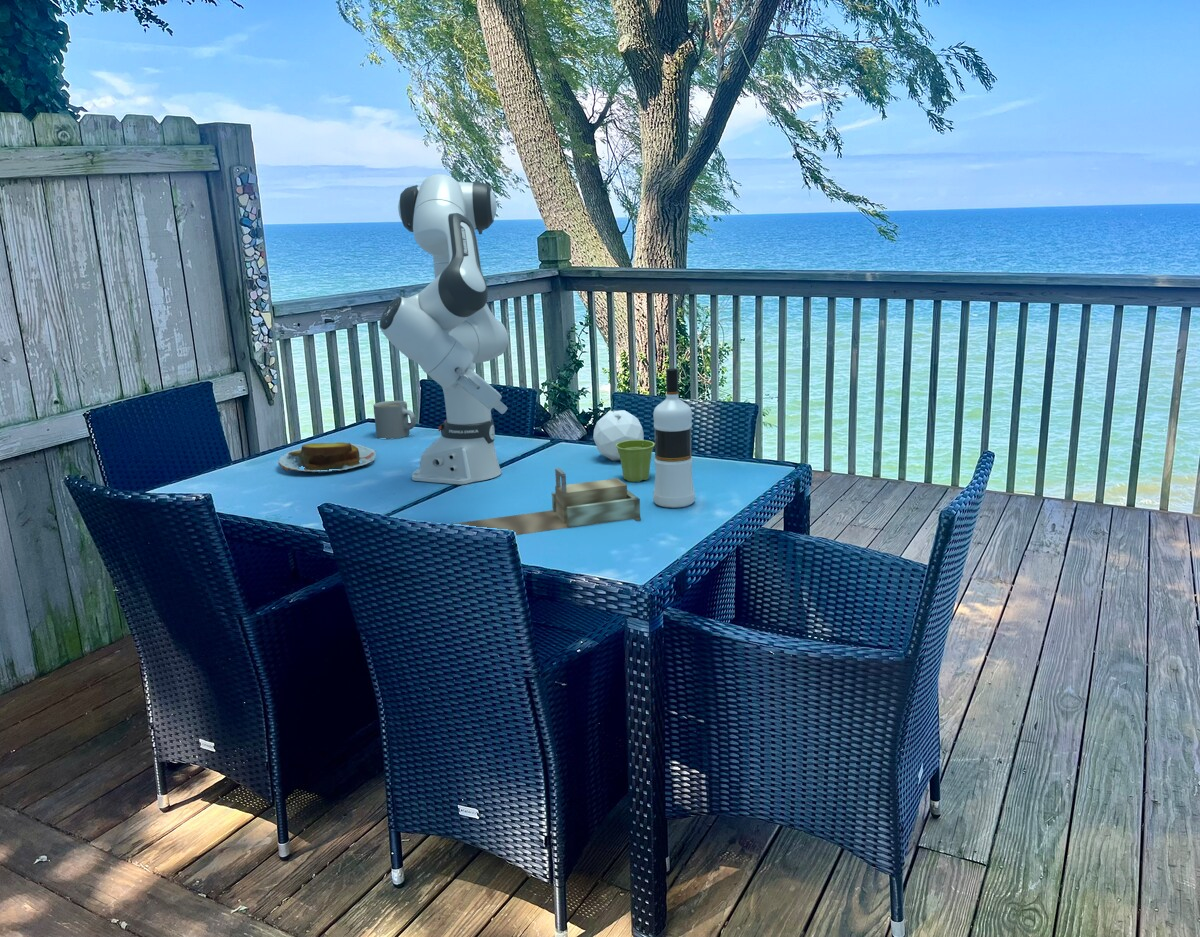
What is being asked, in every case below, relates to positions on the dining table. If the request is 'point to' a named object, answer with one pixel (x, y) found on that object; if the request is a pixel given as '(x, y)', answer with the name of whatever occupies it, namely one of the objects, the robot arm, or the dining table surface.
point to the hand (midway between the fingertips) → (503, 410)
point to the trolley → (585, 493)
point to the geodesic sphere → (616, 432)
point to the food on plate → (327, 457)
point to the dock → (575, 516)
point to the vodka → (673, 448)
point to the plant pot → (635, 459)
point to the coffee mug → (393, 419)
